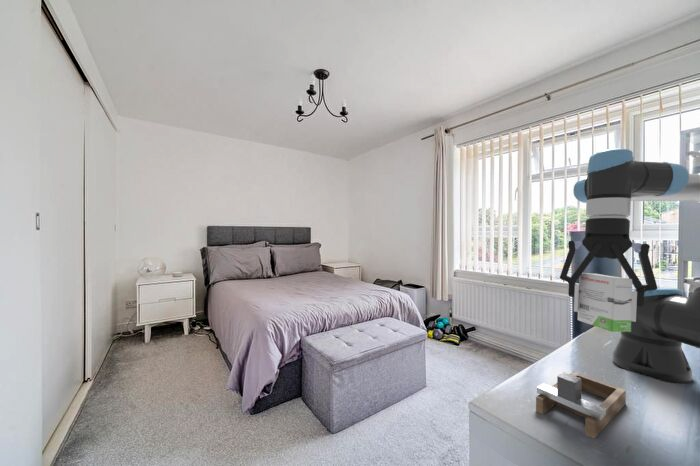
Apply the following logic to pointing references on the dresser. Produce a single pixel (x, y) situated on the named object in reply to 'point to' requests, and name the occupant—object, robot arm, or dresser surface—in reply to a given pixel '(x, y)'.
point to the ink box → (605, 301)
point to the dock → (612, 404)
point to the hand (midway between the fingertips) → (602, 315)
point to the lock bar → (571, 395)
